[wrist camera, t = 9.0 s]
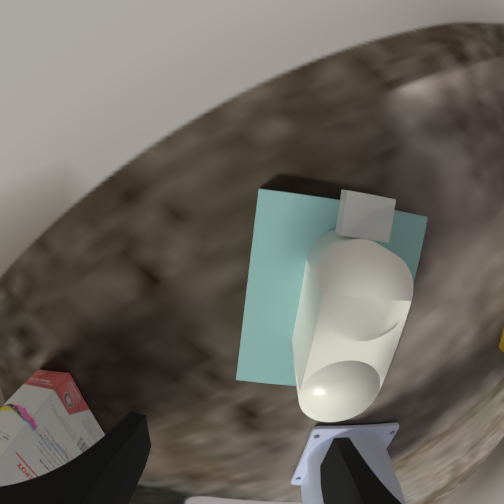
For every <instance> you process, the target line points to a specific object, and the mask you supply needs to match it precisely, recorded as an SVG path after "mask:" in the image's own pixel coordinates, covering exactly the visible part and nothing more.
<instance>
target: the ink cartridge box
mask: <svg viewBox="0 0 504 504" xmlns="http://www.w3.org/2000/svg"><path fill="white" fill-rule="evenodd" d="M104 436H105V434H104V432H103V430H102V429H101V427H100V426H99V424H98V422H97V421H96V419H95V418H94V416H93V414H92V413H91V411H90V409H89V407H88V406H87V404H86V402H85V400H84V399H83V397H82V395H81V393H80V391H79V389H78V387H77V386H76V384H75V382H74V380H73V378H72V376H71V375H70V373H65V372H56V371H47V370H40V369H38V370H37V371H36V372H35V373H34V374H33V375H32V376H31V377H30V378H29V379H28V380H27V381H26V382H25V383H24V384H23V385H22V386H21V387H20V388H19V389H18V390H17V392H16V393H15V394H14V395H13V396H12V397H11V398H10V399H9V400H8V401H7V402H6V403H5V404H4V405H3V406H2V407H1V409H0V486H6V485H11V484H16V483H20V482H23V481H26V480H29V479H32V478H35V477H38V476H41V475H43V474H46V473H48V472H50V471H52V470H54V469H56V468H58V467H60V466H62V465H64V464H66V463H67V462H69V461H71V460H72V459H74V458H76V457H77V456H79V455H80V454H81V453H83V452H84V451H86V450H87V449H88V448H90V447H91V446H92V445H94V444H95V443H96V442H97V441H99V440H100V439H101V438H102V437H104Z"/></svg>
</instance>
